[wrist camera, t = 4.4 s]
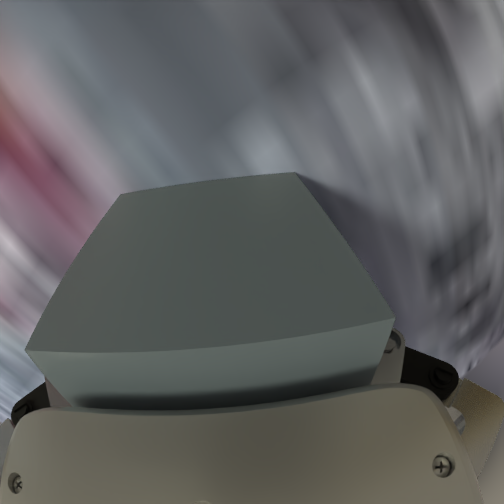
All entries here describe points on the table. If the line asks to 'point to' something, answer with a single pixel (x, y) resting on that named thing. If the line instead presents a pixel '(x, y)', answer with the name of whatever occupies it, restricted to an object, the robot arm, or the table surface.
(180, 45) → the table surface
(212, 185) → the grey rounded box
